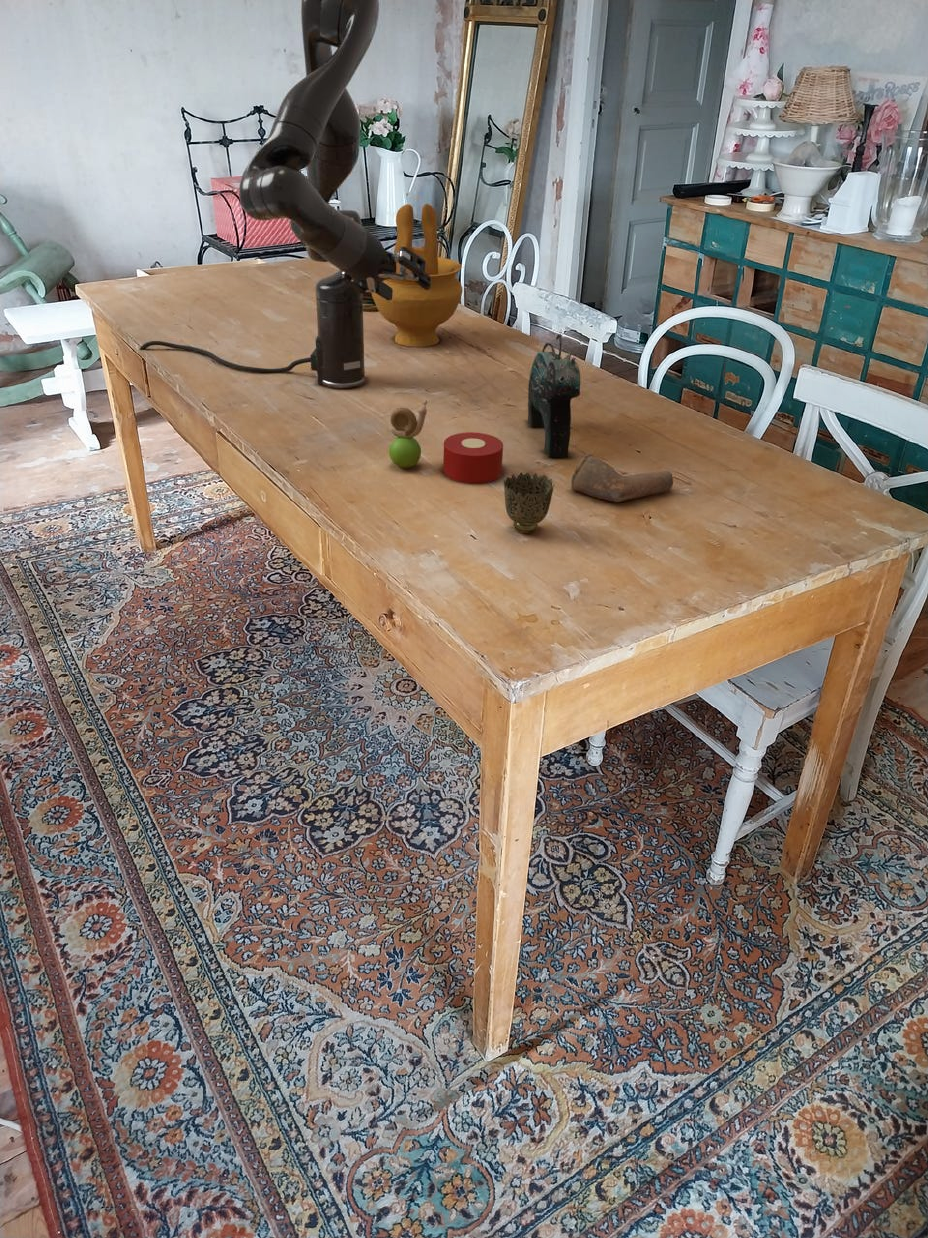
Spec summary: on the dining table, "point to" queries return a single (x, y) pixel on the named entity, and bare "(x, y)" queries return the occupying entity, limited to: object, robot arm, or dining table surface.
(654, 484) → the pipe
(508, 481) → the cup
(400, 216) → the decorative bowl
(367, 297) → the toy sandwich meal
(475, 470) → the cheese
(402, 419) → the snail figurine
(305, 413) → the dining table surface
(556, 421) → the ceramic cat
